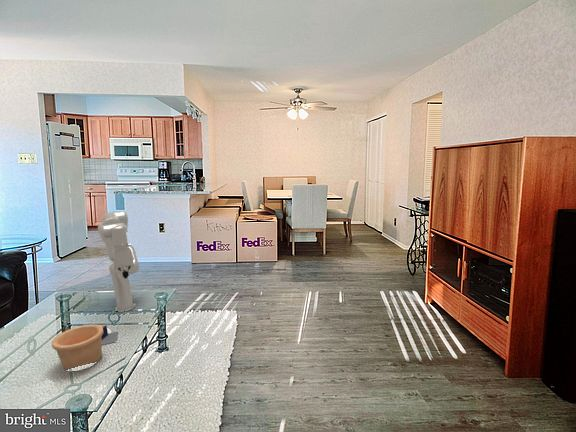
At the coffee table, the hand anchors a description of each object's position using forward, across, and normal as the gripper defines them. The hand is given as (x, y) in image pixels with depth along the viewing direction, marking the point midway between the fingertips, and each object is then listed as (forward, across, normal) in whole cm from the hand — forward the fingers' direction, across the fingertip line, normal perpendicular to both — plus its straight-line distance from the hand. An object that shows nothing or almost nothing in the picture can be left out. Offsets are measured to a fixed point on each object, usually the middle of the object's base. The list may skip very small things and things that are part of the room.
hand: (126, 277), depth 208 cm
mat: (+29, +18, +12) cm, 36 cm away
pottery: (+29, +22, +31) cm, 48 cm away
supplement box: (+26, +14, +10) cm, 31 cm away
